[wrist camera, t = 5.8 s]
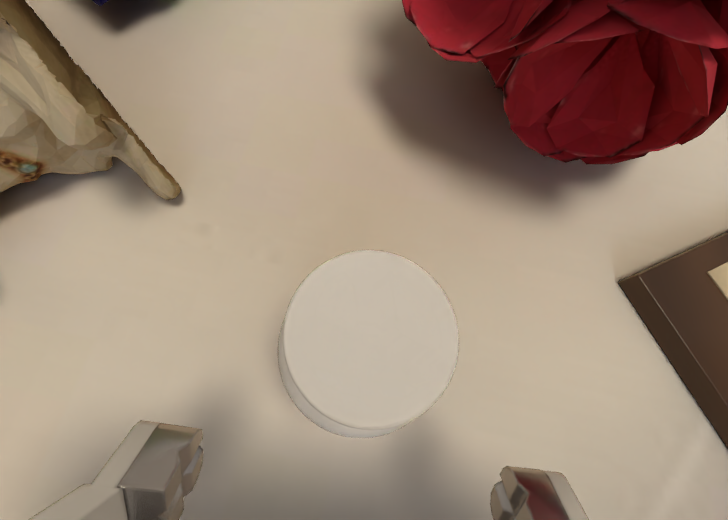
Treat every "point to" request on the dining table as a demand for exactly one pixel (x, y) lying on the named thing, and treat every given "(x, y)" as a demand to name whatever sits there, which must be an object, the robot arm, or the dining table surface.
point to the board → (691, 320)
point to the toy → (100, 2)
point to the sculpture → (59, 112)
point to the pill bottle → (367, 344)
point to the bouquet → (592, 68)
